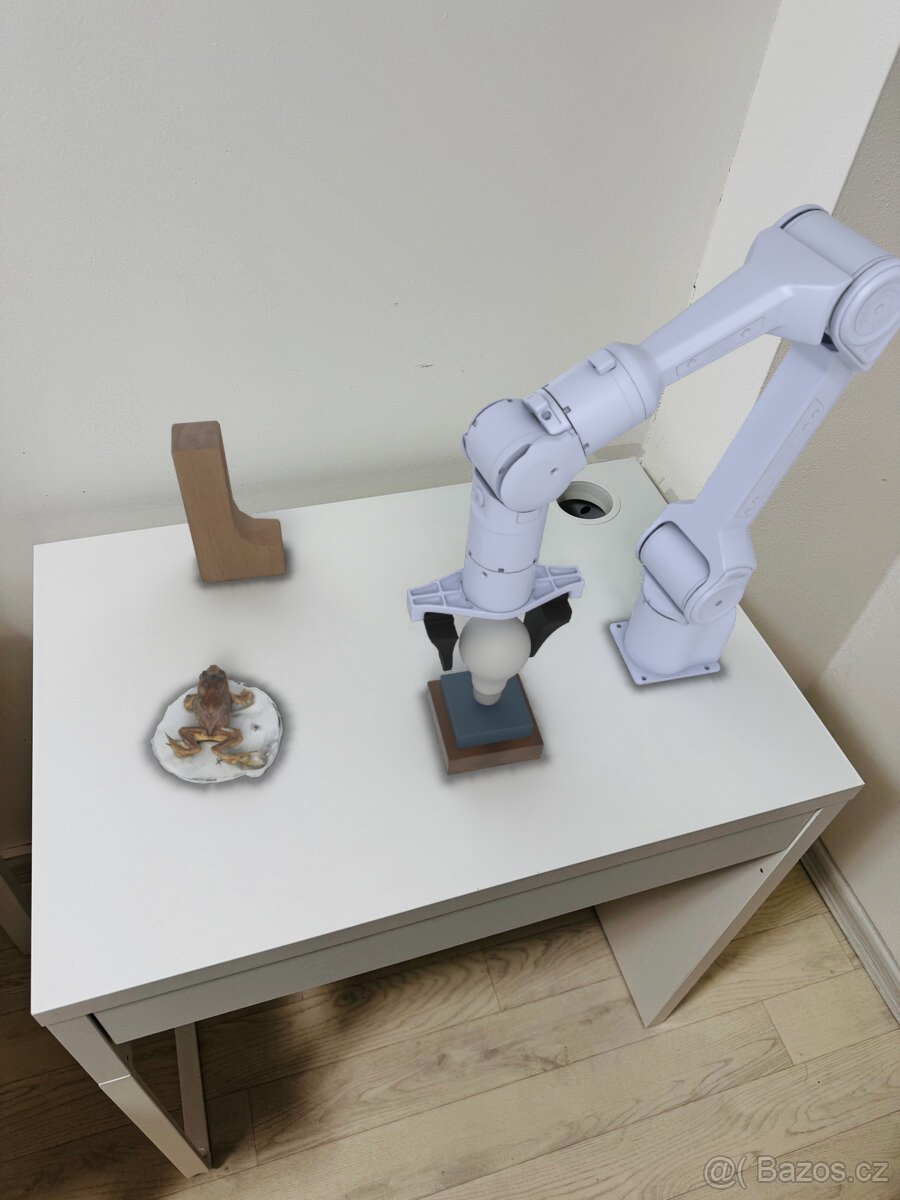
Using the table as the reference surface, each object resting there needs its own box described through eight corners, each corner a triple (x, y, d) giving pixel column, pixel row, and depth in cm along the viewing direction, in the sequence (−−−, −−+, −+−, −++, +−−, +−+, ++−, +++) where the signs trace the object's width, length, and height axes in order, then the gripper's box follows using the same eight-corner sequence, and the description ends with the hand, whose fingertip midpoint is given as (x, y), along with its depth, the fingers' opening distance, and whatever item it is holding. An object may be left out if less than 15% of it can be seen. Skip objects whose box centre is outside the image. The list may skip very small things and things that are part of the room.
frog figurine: (152, 688, 81) (144, 664, 78) (278, 673, 83) (274, 649, 80) (147, 793, 73) (138, 771, 71) (286, 774, 76) (282, 752, 73)
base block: (513, 681, 84) (516, 666, 82) (540, 758, 78) (544, 744, 76) (426, 696, 82) (427, 681, 80) (447, 775, 76) (448, 761, 75)
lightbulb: (513, 733, 75) (530, 657, 66) (446, 719, 75) (454, 642, 67) (523, 679, 79) (539, 602, 70) (459, 666, 79) (468, 588, 71)
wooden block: (283, 546, 95) (266, 414, 81) (286, 575, 92) (270, 443, 78) (201, 555, 93) (170, 422, 80) (202, 584, 90) (170, 451, 77)
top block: (509, 676, 81) (511, 663, 80) (530, 736, 77) (533, 724, 75) (439, 687, 80) (440, 674, 78) (456, 749, 75) (458, 737, 74)
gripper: (574, 501, 68) (549, 610, 78) (400, 522, 65) (397, 633, 76) (604, 562, 64) (574, 669, 74) (419, 588, 61) (414, 696, 71)
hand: (486, 655), depth 74 cm, fingers open, 7 cm apart
